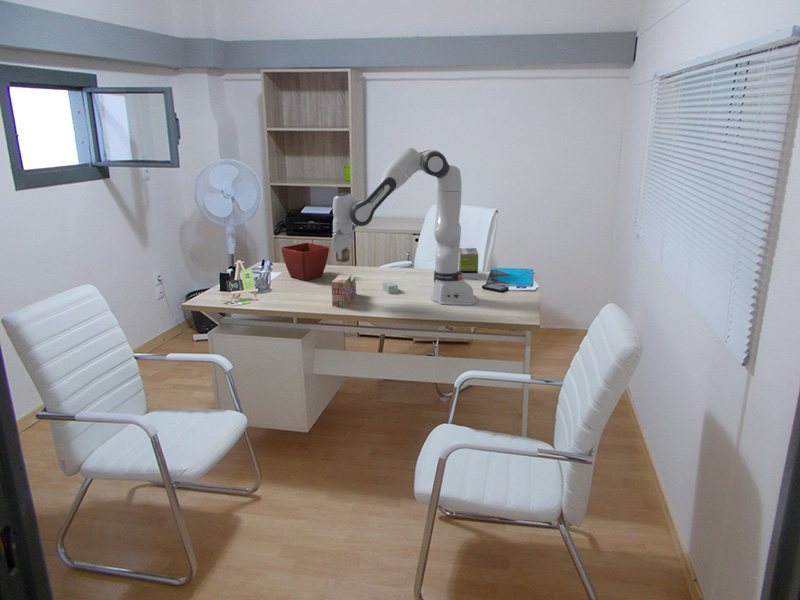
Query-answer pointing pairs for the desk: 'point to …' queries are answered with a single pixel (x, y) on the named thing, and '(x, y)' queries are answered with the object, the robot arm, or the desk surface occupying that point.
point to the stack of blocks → (343, 290)
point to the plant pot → (305, 260)
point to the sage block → (390, 287)
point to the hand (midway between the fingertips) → (342, 257)
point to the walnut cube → (345, 256)
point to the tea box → (468, 263)
